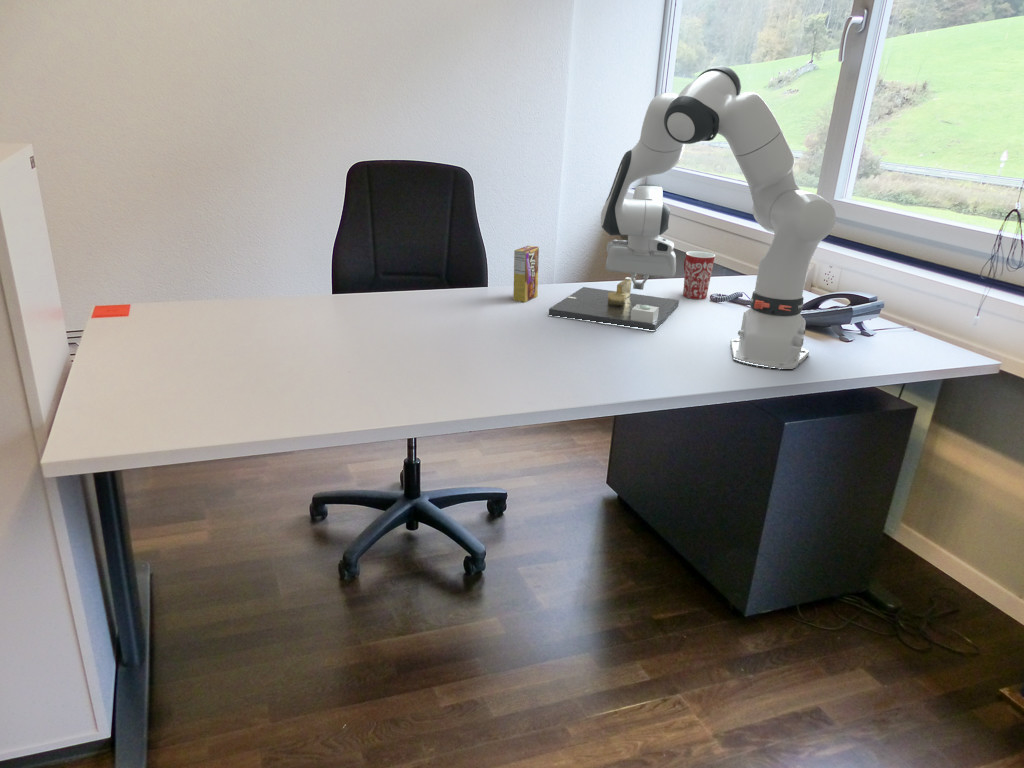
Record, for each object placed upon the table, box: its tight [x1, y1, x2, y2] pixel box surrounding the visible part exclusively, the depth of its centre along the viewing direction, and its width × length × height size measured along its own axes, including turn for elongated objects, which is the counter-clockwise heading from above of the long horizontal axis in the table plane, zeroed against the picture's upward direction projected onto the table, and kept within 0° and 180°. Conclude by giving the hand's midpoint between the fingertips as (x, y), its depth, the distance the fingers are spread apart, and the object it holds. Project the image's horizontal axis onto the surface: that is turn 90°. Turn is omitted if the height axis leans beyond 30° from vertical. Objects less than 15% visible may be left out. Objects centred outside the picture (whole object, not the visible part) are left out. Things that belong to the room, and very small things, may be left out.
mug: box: [682, 250, 716, 300], centre depth 234 cm, size 13×9×14 cm
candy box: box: [512, 245, 540, 303], centre depth 221 cm, size 9×4×15 cm, turn 152°
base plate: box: [548, 286, 680, 331], centre depth 213 cm, size 30×30×6 cm
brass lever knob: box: [608, 276, 632, 306], centre depth 217 cm, size 14×5×5 cm, turn 156°
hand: (638, 288), depth 219 cm, fingers closed
